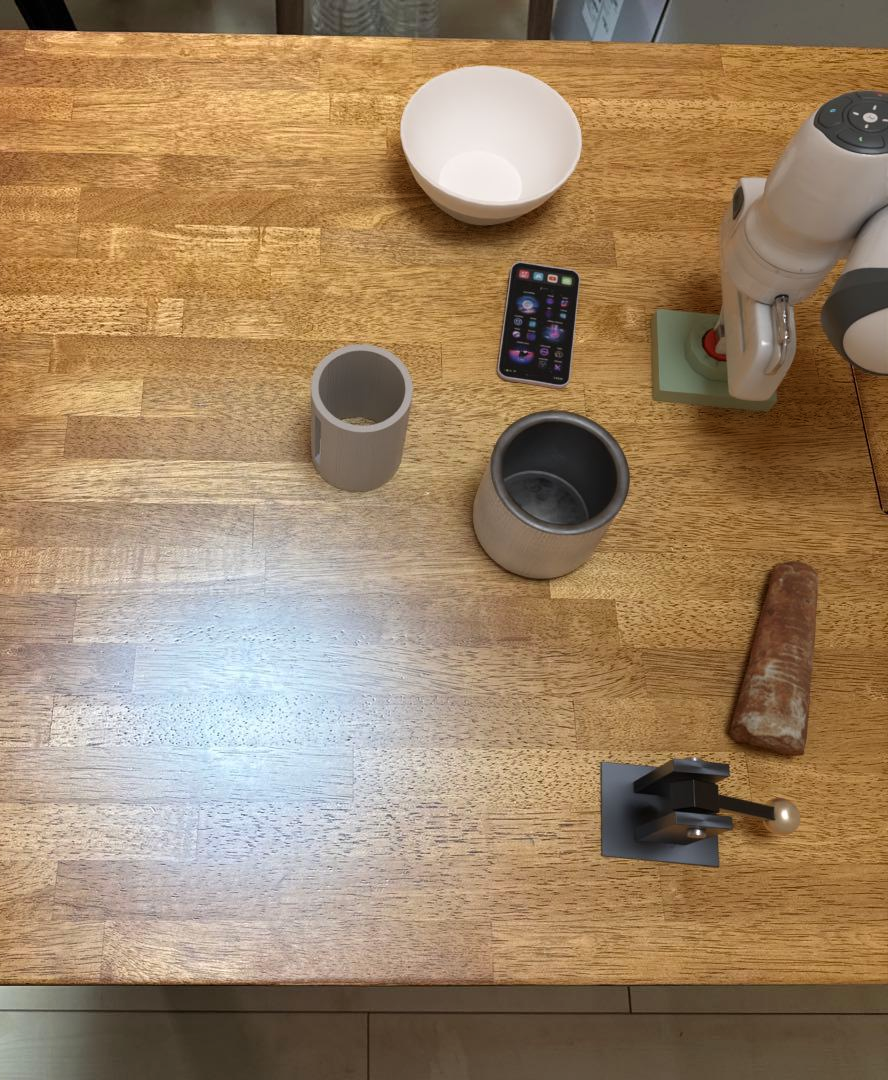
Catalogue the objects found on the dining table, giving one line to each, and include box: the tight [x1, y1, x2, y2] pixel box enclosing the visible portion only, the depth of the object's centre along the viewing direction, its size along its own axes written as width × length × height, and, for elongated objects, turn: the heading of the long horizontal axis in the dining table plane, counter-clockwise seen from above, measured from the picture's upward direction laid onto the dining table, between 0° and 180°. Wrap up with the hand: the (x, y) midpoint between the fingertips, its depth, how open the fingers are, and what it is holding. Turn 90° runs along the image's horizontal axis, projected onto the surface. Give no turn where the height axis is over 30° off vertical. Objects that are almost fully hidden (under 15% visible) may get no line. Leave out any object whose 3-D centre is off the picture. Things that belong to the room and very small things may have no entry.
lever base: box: [599, 756, 734, 868], centre depth 83 cm, size 10×8×12 cm
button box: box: [649, 308, 778, 413], centre depth 105 cm, size 12×10×4 cm
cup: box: [310, 343, 414, 493], centre depth 96 cm, size 9×9×12 cm
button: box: [702, 330, 727, 362], centre depth 104 cm, size 4×4×2 cm
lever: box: [670, 779, 802, 836], centre depth 82 cm, size 13×3×3 cm, turn 85°
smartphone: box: [496, 261, 581, 389], centre depth 108 cm, size 8×1×15 cm
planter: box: [472, 409, 631, 580], centre depth 94 cm, size 12×12×11 cm
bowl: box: [399, 65, 583, 227], centre depth 112 cm, size 19×19×8 cm
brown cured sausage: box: [729, 560, 819, 757], centre depth 92 cm, size 6×19×6 cm, turn 158°
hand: (721, 342), depth 103 cm, fingers closed, pressing on button
